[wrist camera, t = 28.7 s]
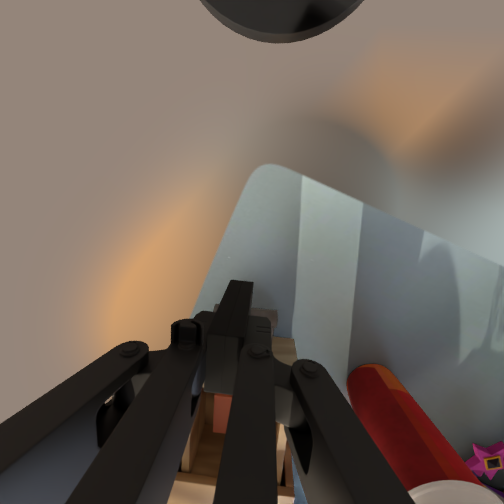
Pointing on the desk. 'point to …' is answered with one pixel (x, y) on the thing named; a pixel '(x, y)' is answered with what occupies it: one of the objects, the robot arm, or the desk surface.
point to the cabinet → (203, 487)
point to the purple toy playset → (488, 463)
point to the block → (221, 412)
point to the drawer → (211, 443)
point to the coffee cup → (412, 441)
